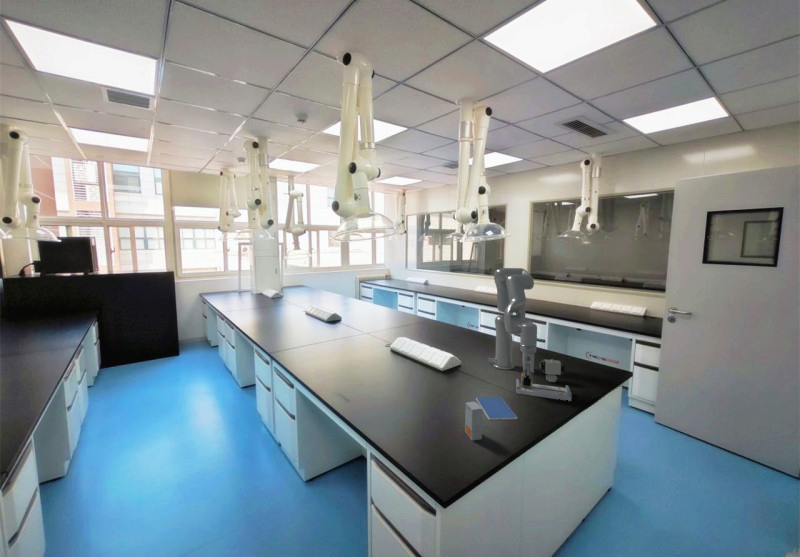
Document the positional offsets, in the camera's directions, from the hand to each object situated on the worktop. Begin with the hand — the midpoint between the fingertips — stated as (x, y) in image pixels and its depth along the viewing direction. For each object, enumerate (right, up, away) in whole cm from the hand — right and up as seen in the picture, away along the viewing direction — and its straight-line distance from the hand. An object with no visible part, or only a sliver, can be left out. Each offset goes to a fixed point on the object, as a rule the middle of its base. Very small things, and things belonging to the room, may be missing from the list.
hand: (526, 383), depth 158 cm
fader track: (+7, -4, -2) cm, 8 cm away
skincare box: (-36, -7, -39) cm, 53 cm away
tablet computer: (-21, -6, -18) cm, 28 cm away
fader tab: (0, -1, 0) cm, 1 cm away
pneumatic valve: (+18, -3, +13) cm, 23 cm away
